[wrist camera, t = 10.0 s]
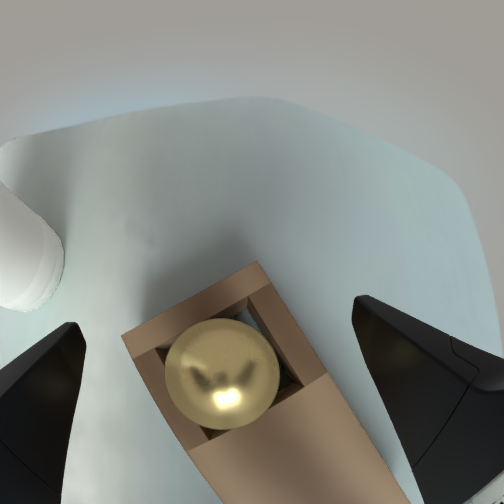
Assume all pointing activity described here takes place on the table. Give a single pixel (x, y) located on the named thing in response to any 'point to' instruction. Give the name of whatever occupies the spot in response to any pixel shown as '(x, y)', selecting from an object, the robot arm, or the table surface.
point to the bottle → (26, 256)
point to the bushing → (222, 374)
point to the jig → (269, 411)
